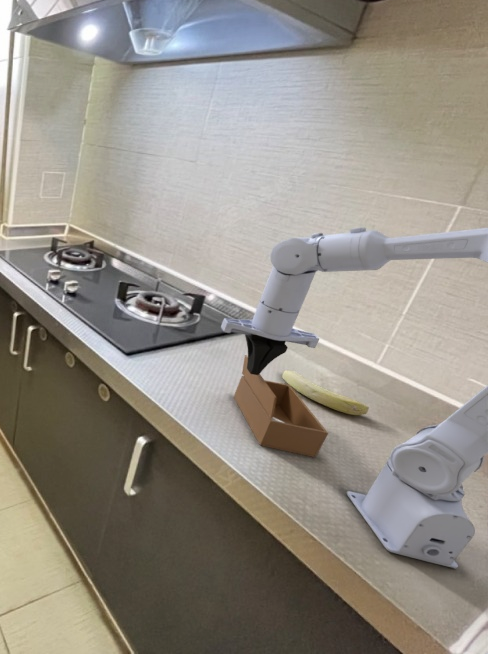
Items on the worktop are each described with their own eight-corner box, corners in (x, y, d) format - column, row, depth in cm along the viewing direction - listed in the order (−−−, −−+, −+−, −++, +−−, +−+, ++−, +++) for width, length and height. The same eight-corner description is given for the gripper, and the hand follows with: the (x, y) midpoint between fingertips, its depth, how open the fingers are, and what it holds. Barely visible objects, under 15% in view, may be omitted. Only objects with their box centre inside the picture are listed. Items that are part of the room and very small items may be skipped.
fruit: (346, 424, 76) (353, 410, 75) (270, 378, 89) (275, 366, 88) (366, 417, 79) (373, 404, 78) (289, 374, 92) (295, 362, 91)
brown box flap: (276, 397, 65) (274, 397, 65) (272, 418, 67) (270, 418, 67) (246, 355, 78) (244, 355, 78) (243, 373, 79) (242, 373, 79)
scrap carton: (315, 457, 67) (328, 433, 65) (260, 445, 69) (270, 421, 67) (279, 406, 80) (289, 384, 78) (233, 397, 82) (241, 375, 80)
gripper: (314, 303, 69) (286, 367, 74) (226, 289, 72) (204, 352, 77) (337, 321, 63) (304, 390, 68) (239, 305, 65) (215, 372, 70)
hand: (252, 371), depth 72 cm, fingers closed
